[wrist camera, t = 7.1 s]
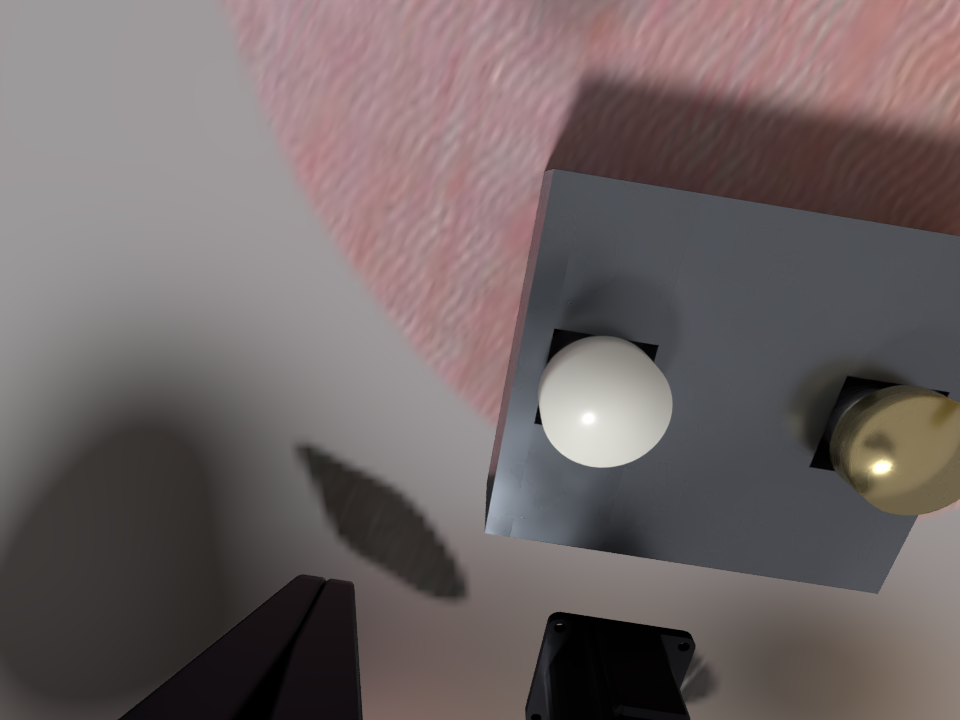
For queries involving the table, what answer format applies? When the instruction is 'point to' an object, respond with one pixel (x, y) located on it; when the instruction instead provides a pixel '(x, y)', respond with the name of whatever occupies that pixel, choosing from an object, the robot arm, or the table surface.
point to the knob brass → (896, 445)
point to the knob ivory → (602, 399)
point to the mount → (722, 375)
